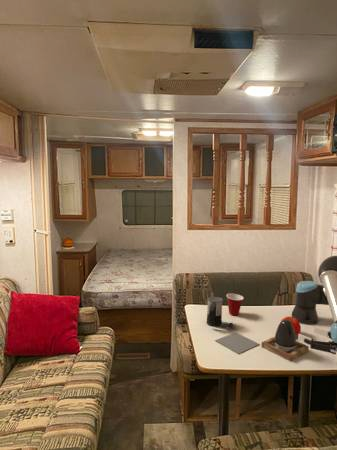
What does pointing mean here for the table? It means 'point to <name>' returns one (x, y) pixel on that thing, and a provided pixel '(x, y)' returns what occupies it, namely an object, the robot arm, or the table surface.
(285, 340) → the pump dispenser
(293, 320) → the tomato
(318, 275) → the robot arm
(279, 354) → the walnut collar
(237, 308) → the plastic cup
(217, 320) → the milk frother
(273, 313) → the table surface
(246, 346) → the rubber mat
